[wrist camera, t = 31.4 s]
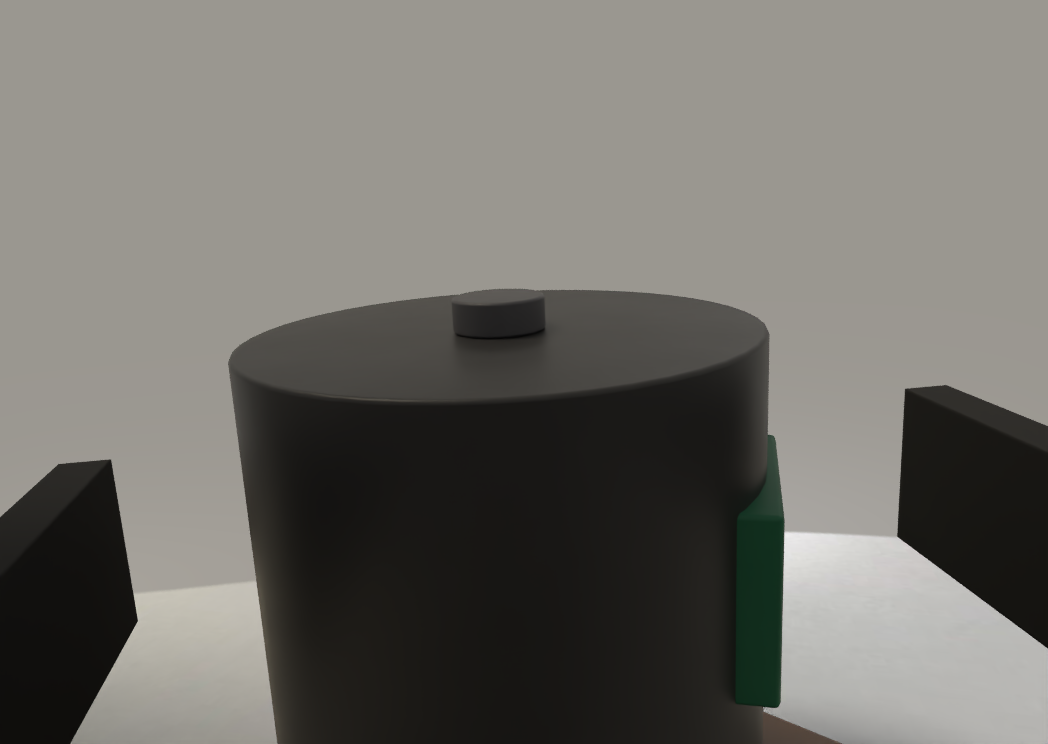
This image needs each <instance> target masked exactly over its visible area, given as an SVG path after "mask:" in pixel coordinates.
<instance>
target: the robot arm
mask: <svg viewBox="0 0 1048 744" xmlns="http://www.w3.org/2000/svg"><path fill="white" fill-rule="evenodd" d="M897 537H898V538H900V539H901V540H903V541H904V542H905V543H907V544H908V545H909V546H911V547H912V548H913V549H915V550H916V551H917V552H919V553H920V554H921V555H923V556H924V557H925V558H927V559H928V560H929V561H931V562H932V563H933V564H935V565H936V566H938V567H939V568H940V569H942V570H943V571H944V572H946V573H947V574H948V575H950V576H951V577H952V578H954V579H955V580H956V581H958V582H959V583H960V584H962V585H963V586H964V587H966V588H967V589H968V590H970V591H971V592H973V593H974V594H975V595H977V596H978V597H979V598H981V599H982V600H983V601H985V602H986V603H987V604H989V605H990V606H991V607H993V608H994V609H995V610H997V611H998V612H999V613H1001V614H1002V615H1003V616H1005V617H1006V618H1008V619H1009V620H1010V621H1012V622H1013V623H1014V624H1016V625H1017V626H1018V627H1020V628H1021V629H1022V630H1024V631H1025V632H1026V633H1028V634H1029V635H1030V636H1032V637H1033V638H1034V639H1036V640H1037V641H1038V642H1040V643H1041V644H1043V645H1044V646H1045V647H1047V648H1048V426H1046V425H1043V424H1041V423H1038V422H1036V421H1034V420H1031V419H1029V418H1026V417H1024V416H1021V415H1019V414H1016V413H1014V412H1011V411H1009V410H1006V409H1004V408H1001V407H999V406H996V405H994V404H991V403H989V402H986V401H984V400H982V399H979V398H977V397H974V396H972V395H969V394H966V393H964V392H962V391H959V390H957V389H954V388H951V387H949V386H947V385H944V386H932V387H922V388H911V389H905V402H904V420H903V440H902V459H901V477H900V496H899V514H898V533H897ZM137 622H138V619H137V613H136V607H135V601H134V595H133V590H132V584H131V577H130V571H129V565H128V560H127V553H126V547H125V542H124V535H123V529H122V523H121V517H120V511H119V505H118V499H117V493H116V487H115V481H114V475H113V469H112V463H111V460H100V461H89V462H77V463H66V464H58V465H57V466H56V467H55V468H54V469H53V470H52V471H51V472H50V473H48V474H47V475H46V476H45V477H44V478H43V479H42V480H41V481H40V482H38V483H37V484H36V485H35V486H34V487H33V488H32V489H31V490H30V491H29V492H28V493H26V494H25V495H24V496H23V497H22V498H21V499H20V500H19V501H18V502H16V504H14V505H13V506H12V507H11V508H10V509H9V510H8V511H7V512H5V513H4V514H3V515H2V516H1V517H0V744H70V743H71V741H72V739H73V737H74V736H75V734H76V732H77V730H78V728H79V727H80V725H81V723H82V721H83V719H84V718H85V716H86V714H87V712H88V710H89V709H90V707H91V705H92V703H93V701H94V699H95V698H96V696H97V694H98V692H99V690H100V689H101V687H102V685H103V683H104V681H105V680H106V678H107V676H108V674H109V672H110V671H111V669H112V667H113V665H114V663H115V661H116V660H117V658H118V656H119V654H120V652H121V651H122V649H123V647H124V645H125V643H126V642H127V640H128V638H129V636H130V634H131V633H132V631H133V629H134V627H135V625H136V623H137Z"/></svg>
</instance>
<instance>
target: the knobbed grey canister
mask: <svg viewBox="0 0 1048 744" xmlns="http://www.w3.org/2000/svg"><path fill="white" fill-rule="evenodd" d="M228 365H229V373H230V381H231V388H232V396H233V404H234V412H235V419H236V427H237V434H238V442H239V450H240V458H241V465H242V473H243V481H244V488H245V496H246V504H247V512H248V518H249V527H250V535H251V542H252V550H253V558H254V565H255V573H256V581H257V589H258V596H259V604H260V612H261V619H262V627H263V635H264V642H265V650H266V658H267V666H268V673H269V681H270V689H271V696H272V704H273V712H274V719H275V727H276V735H277V742H278V744H762V742H763V707H770V708H777V707H778V706H779V705H780V703H781V657H782V611H783V566H784V512H783V503H782V495H781V485H780V477H779V467H778V459H777V450H776V441H775V438H774V436H772V435H768V382H769V381H768V379H769V332H768V330H767V328H766V326H765V324H764V323H763V322H762V321H761V320H759V319H758V318H757V317H755V316H753V315H751V314H749V313H747V312H745V311H741V310H739V309H736V308H733V307H730V306H726V305H722V304H718V303H714V302H709V301H704V300H698V299H693V298H686V297H679V296H672V295H661V294H651V293H637V292H620V291H593V290H592V291H591V290H542V291H534V290H528V289H493V290H482V291H474V292H469V293H464V294H460V295H450V296H439V297H430V298H420V299H412V300H404V301H396V302H389V303H383V304H376V305H370V306H364V307H358V308H352V309H347V310H342V311H337V312H332V313H327V314H323V315H318V316H315V317H310V318H306V319H302V320H299V321H296V322H292V323H289V324H285V325H282V326H279V327H277V328H274V329H271V330H268V331H266V332H264V333H262V334H259V335H257V336H255V337H253V338H251V339H249V340H248V341H246V342H244V343H242V344H241V345H240V346H239V347H237V348H236V349H235V350H234V351H233V352H232V354H231V357H230V359H229V363H228Z"/></svg>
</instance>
